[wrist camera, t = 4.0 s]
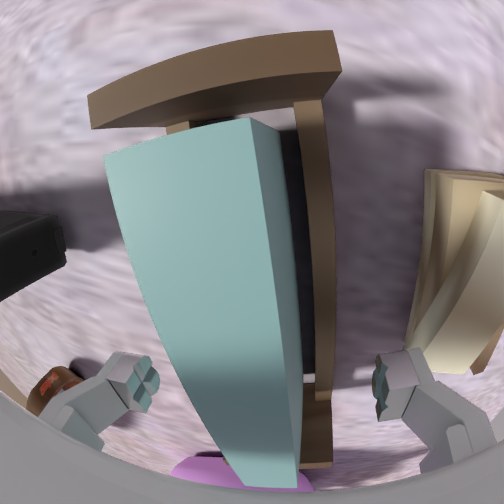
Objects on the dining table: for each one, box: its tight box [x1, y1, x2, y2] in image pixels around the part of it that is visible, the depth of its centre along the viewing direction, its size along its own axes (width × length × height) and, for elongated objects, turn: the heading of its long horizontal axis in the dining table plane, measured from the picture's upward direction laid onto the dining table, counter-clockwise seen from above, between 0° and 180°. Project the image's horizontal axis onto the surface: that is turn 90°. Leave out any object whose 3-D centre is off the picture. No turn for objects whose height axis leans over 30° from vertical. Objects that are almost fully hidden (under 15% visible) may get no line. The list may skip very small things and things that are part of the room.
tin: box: [26, 366, 84, 417], centre depth 20 cm, size 15×3×8 cm, turn 157°
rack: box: [87, 30, 504, 469], centre depth 9 cm, size 18×18×6 cm
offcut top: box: [403, 191, 504, 374], centre depth 9 cm, size 8×4×2 cm, turn 166°
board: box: [103, 117, 303, 488], centre depth 10 cm, size 14×2×8 cm, turn 9°
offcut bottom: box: [404, 169, 504, 344], centre depth 11 cm, size 10×5×2 cm, turn 8°
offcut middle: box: [413, 173, 504, 333], centre depth 10 cm, size 9×5×2 cm, turn 7°
